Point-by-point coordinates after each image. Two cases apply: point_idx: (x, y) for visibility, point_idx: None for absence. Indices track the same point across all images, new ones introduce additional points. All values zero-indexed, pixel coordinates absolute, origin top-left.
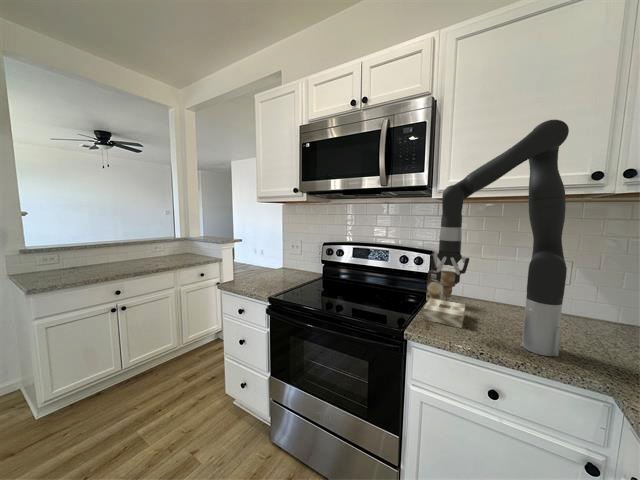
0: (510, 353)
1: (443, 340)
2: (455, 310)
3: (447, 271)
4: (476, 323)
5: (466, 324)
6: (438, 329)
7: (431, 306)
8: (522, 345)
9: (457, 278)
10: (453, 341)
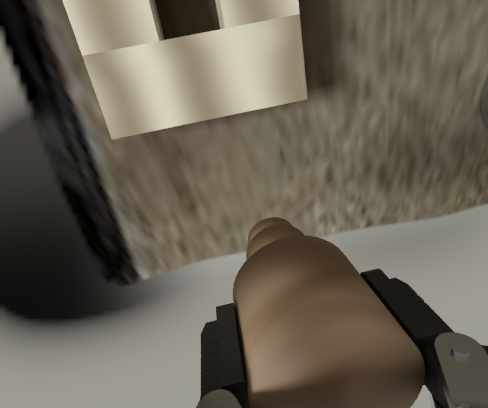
0: (437, 186)
1: None
2: (257, 31)
3: (321, 373)
4: None
5: None
6: (222, 180)
7: (126, 69)
8: (483, 109)
9: None
10: None
